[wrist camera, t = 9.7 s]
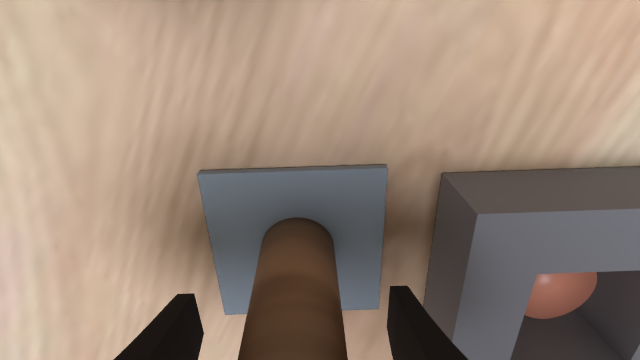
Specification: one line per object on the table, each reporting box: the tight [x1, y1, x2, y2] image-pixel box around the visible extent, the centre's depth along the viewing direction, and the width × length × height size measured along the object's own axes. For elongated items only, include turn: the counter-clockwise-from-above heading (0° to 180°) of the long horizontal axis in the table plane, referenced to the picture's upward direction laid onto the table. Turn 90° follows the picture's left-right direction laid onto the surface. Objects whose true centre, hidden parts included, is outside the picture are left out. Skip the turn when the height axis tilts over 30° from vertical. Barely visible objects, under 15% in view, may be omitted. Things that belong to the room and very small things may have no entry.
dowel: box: [238, 217, 348, 360], centre depth 12 cm, size 3×3×8 cm
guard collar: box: [423, 166, 640, 360], centre depth 16 cm, size 11×11×4 cm
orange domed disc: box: [524, 272, 597, 319], centre depth 16 cm, size 4×4×1 cm
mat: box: [197, 164, 388, 315], centre depth 16 cm, size 8×8×1 cm
